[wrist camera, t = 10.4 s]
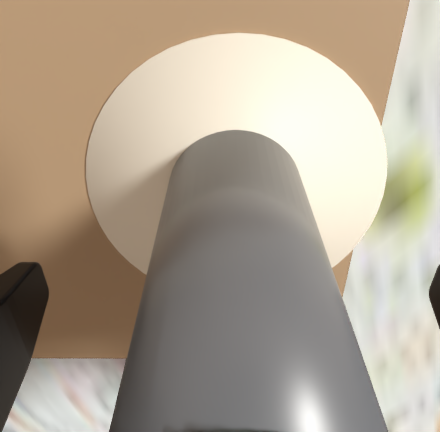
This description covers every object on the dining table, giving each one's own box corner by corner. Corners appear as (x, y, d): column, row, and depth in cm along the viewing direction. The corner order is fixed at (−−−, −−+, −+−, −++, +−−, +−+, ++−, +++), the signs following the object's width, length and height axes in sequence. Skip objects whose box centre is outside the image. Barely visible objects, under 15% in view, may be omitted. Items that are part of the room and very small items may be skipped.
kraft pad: (336, 347, 17) (341, 360, 17) (0, 346, 17) (-8, 360, 17) (457, -156, 8) (475, -165, 8) (-233, -152, 8) (-268, -160, 8)
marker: (295, 246, 13) (418, 747, 5) (171, 246, 13) (84, 742, 5) (309, 128, 11) (585, 681, 3) (161, 128, 11) (-34, 676, 3)
